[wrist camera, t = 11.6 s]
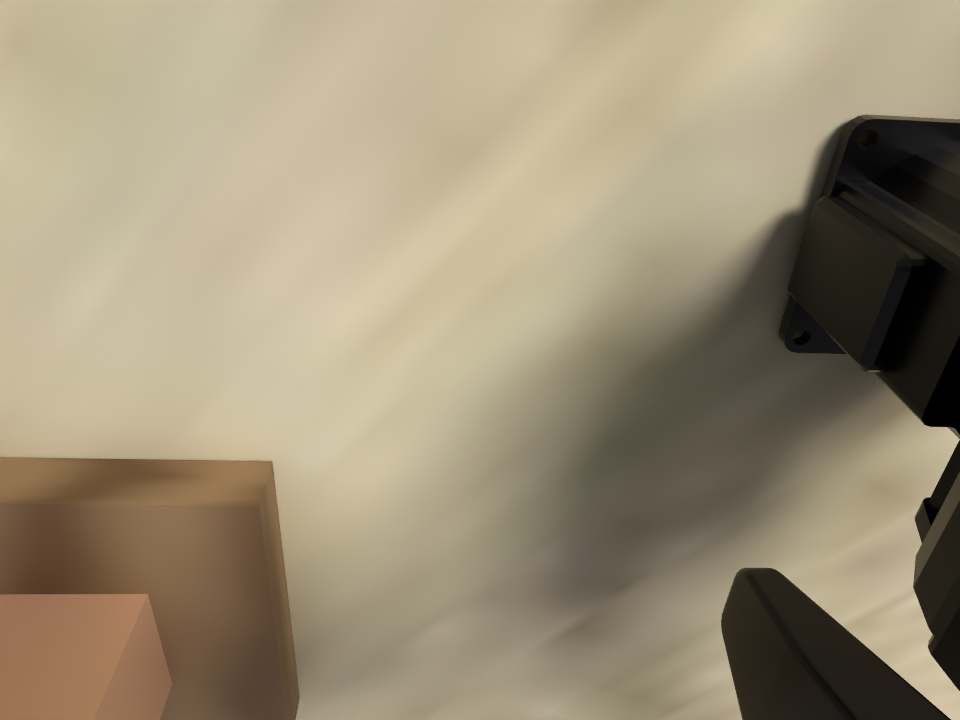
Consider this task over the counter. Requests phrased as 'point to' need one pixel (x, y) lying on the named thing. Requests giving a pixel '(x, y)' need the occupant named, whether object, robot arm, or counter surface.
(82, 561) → the walnut base
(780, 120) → the counter surface
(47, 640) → the terracotta block
